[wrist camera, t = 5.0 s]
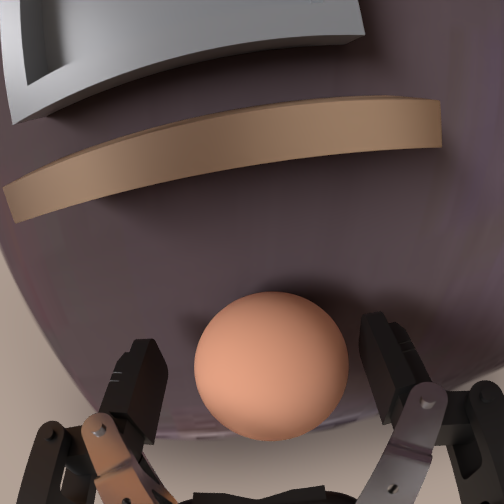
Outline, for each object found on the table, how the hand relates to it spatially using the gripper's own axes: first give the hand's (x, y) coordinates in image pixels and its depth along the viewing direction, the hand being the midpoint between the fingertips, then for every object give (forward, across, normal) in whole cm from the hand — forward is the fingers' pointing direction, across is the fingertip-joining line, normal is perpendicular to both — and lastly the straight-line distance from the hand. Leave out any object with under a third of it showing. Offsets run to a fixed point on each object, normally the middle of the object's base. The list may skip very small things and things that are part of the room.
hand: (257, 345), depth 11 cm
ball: (-1, 0, 0) cm, 1 cm away
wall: (+2, 0, -8) cm, 8 cm away
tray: (+2, +1, -16) cm, 16 cm away
